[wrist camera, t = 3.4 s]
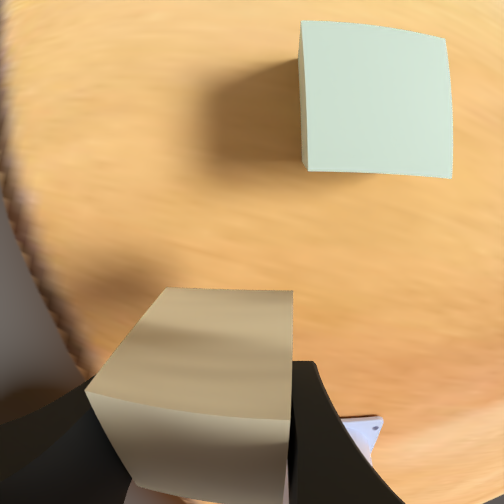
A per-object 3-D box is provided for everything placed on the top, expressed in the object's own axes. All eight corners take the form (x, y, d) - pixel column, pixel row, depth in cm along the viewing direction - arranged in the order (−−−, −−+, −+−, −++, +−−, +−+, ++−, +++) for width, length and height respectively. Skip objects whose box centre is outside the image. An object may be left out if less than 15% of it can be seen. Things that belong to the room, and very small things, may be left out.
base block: (403, 165, 13) (451, 178, 9) (302, 161, 14) (308, 171, 9) (400, 66, 12) (445, 39, 7) (298, 58, 12) (301, 20, 8)
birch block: (289, 388, 11) (281, 508, 6) (183, 380, 11) (137, 486, 6) (292, 290, 9) (290, 420, 5) (166, 286, 10) (84, 390, 5)
